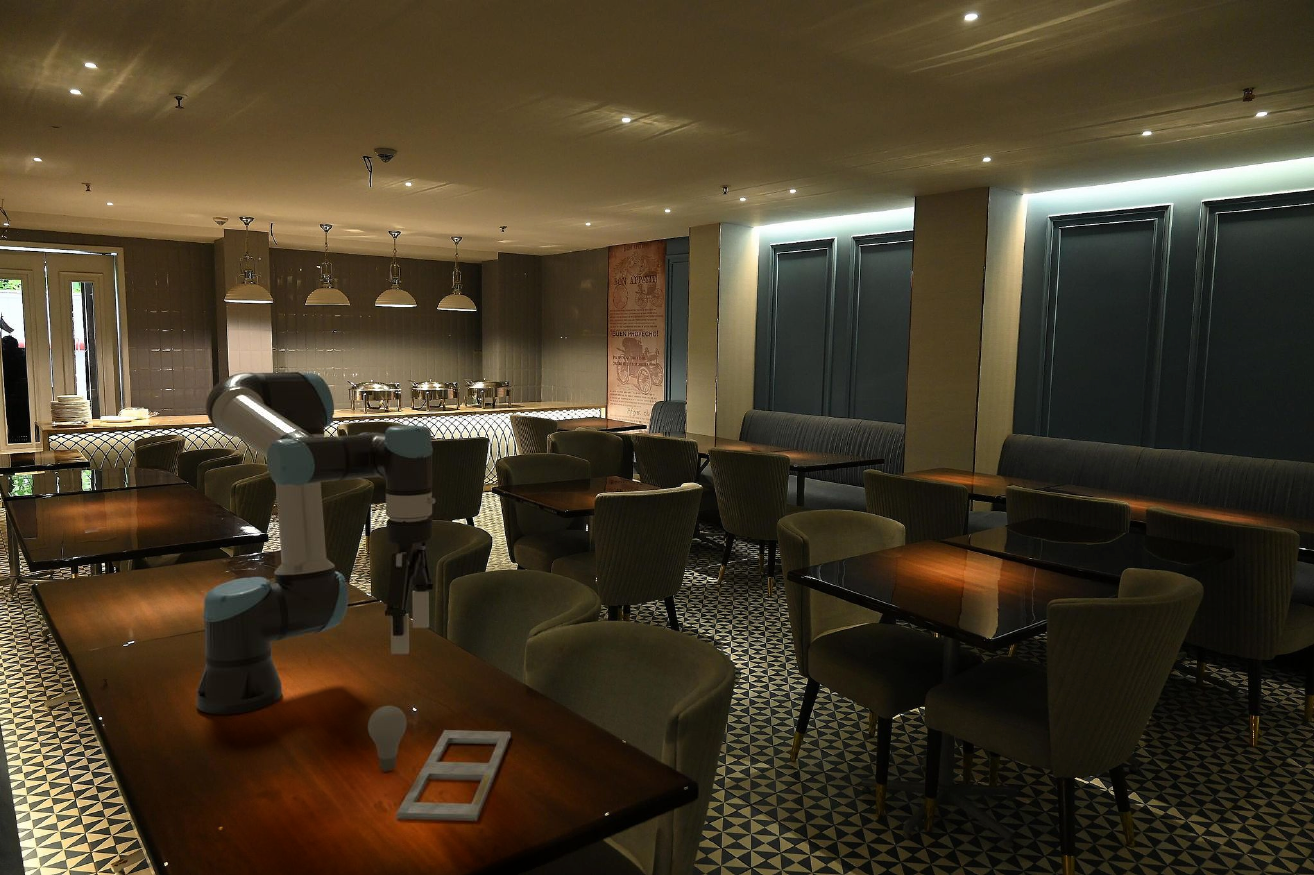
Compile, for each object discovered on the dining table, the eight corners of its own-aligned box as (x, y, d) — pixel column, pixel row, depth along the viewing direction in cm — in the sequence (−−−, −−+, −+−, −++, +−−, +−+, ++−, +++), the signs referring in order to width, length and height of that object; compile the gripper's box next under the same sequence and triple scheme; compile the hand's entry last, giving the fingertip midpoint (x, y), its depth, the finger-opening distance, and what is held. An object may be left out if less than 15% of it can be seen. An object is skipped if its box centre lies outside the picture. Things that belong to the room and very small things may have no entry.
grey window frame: (396, 818, 128) (396, 812, 128) (444, 735, 156) (444, 729, 156) (476, 820, 128) (476, 814, 128) (510, 736, 156) (510, 731, 156)
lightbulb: (373, 762, 146) (372, 699, 144) (410, 761, 146) (409, 699, 145) (364, 780, 140) (363, 715, 138) (402, 779, 140) (402, 714, 139)
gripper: (412, 532, 133) (414, 665, 135) (447, 504, 158) (448, 617, 160) (363, 532, 133) (366, 665, 135) (406, 504, 157) (408, 617, 160)
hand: (410, 639), depth 147 cm, fingers open, 13 cm apart
